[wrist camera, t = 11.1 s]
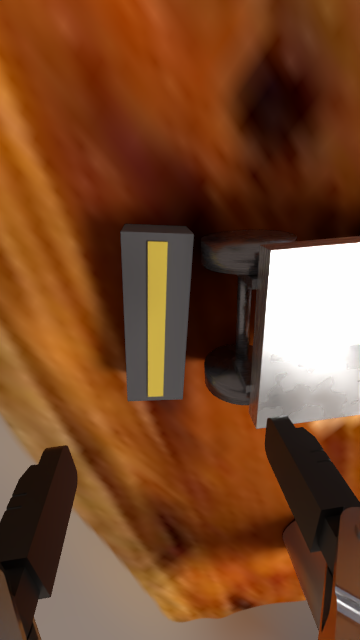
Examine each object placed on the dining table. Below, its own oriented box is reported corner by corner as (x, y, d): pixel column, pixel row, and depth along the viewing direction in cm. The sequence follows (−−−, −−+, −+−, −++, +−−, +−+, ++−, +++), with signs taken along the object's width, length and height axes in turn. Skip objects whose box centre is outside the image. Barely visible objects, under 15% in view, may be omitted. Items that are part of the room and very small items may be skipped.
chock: (125, 223, 20) (120, 231, 16) (185, 225, 20) (194, 234, 17) (130, 370, 25) (127, 402, 22) (177, 369, 26) (182, 400, 22)
